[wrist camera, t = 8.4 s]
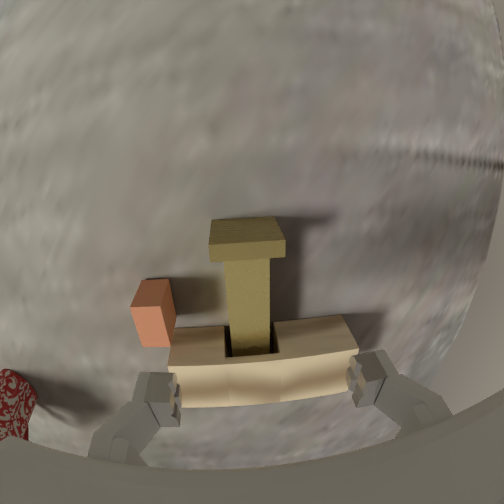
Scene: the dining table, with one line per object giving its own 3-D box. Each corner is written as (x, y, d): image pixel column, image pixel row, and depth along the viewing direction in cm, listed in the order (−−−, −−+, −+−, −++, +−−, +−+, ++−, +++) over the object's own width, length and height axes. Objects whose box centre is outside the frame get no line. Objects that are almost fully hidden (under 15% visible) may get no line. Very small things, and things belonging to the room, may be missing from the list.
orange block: (142, 280, 24) (129, 307, 20) (168, 278, 24) (160, 306, 20) (151, 317, 26) (142, 346, 22) (176, 316, 26) (170, 346, 22)
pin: (211, 219, 23) (208, 244, 18) (273, 216, 23) (285, 239, 19) (226, 361, 29) (228, 397, 25) (272, 357, 29) (280, 393, 25)
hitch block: (174, 328, 27) (167, 366, 22) (341, 314, 28) (359, 348, 23) (185, 370, 29) (181, 407, 25) (333, 357, 30) (347, 391, 26)
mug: (-12, 357, 28) (-49, 420, 15) (29, 372, 29) (-6, 446, 17) (17, 407, 33) (-6, 464, 21) (57, 421, 34) (36, 486, 22)
